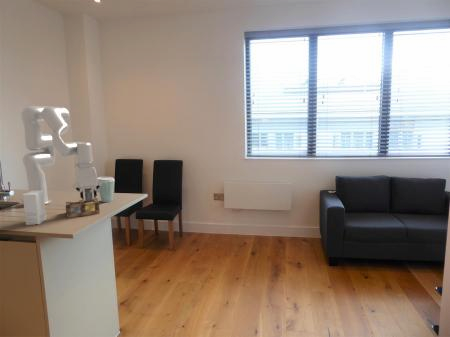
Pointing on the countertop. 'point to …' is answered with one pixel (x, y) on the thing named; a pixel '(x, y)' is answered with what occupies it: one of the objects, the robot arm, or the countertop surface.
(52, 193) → the countertop surface
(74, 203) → the socket block
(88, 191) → the peg
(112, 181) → the disposable coffee cup
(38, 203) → the skincare box
